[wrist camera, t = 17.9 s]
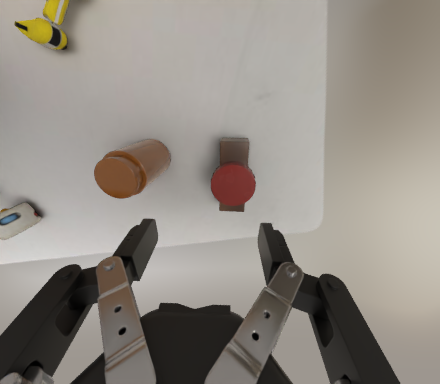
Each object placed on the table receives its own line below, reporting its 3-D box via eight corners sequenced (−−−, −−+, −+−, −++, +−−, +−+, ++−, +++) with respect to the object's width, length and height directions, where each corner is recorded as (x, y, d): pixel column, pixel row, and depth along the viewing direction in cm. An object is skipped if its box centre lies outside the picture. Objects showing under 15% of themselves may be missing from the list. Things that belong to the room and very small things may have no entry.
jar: (140, 172, 28) (97, 200, 20) (133, 138, 26) (83, 153, 17) (172, 173, 28) (143, 203, 19) (168, 139, 26) (134, 154, 17)
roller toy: (-35, 225, 27) (-3, 210, 27) (7, 207, 33) (34, 194, 33) (-10, 247, 29) (21, 233, 28) (26, 226, 35) (52, 214, 34)
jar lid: (256, 161, 23) (258, 165, 21) (252, 201, 25) (253, 207, 24) (212, 159, 23) (210, 163, 22) (212, 198, 26) (210, 205, 24)
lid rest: (220, 201, 29) (219, 210, 27) (221, 137, 25) (220, 141, 22) (243, 202, 29) (243, 212, 26) (247, 138, 25) (249, 141, 22)
